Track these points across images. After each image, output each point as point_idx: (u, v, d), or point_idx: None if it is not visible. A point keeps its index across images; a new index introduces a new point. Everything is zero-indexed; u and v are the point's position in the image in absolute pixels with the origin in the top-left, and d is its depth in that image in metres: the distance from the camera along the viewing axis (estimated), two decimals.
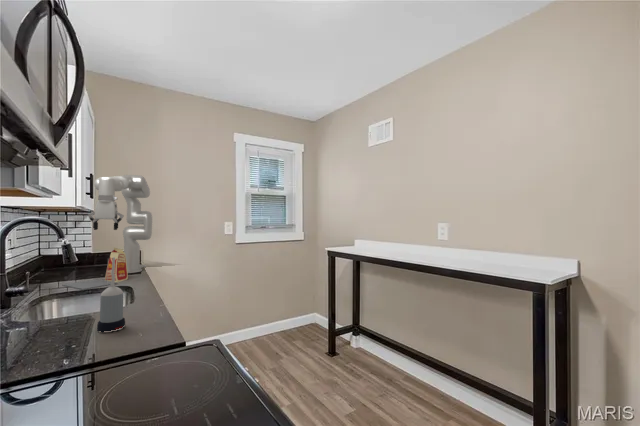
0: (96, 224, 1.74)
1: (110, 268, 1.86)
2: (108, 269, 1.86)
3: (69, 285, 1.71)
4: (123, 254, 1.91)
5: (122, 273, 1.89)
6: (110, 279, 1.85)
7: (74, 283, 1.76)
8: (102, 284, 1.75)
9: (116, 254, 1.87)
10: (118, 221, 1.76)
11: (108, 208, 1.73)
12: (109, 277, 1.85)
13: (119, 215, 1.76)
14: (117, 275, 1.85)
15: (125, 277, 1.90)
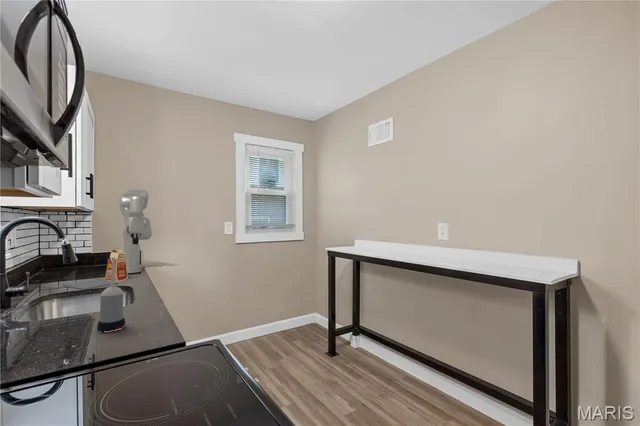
0: None
1: (110, 268, 1.86)
2: (108, 269, 1.86)
3: (69, 285, 1.71)
4: (123, 254, 1.91)
5: (122, 273, 1.89)
6: (110, 279, 1.85)
7: (74, 283, 1.76)
8: (102, 284, 1.75)
9: (116, 254, 1.87)
10: (139, 236, 2.01)
11: (141, 223, 2.00)
12: (109, 277, 1.85)
13: None
14: (117, 275, 1.85)
15: (125, 277, 1.90)
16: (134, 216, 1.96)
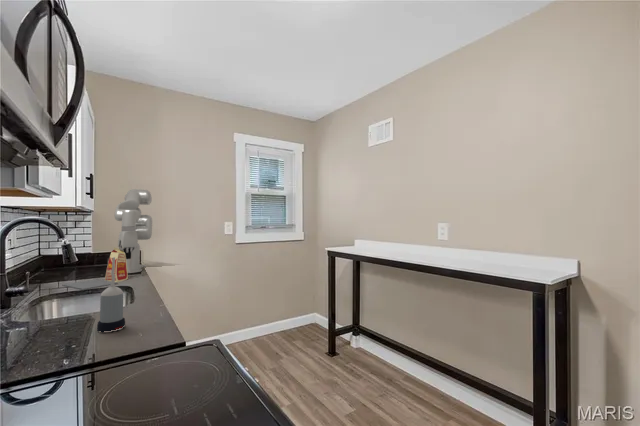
0: None
1: (110, 268, 1.86)
2: (108, 269, 1.86)
3: (69, 285, 1.71)
4: (123, 254, 1.91)
5: (122, 273, 1.89)
6: (110, 279, 1.85)
7: (74, 283, 1.76)
8: (102, 284, 1.75)
9: (116, 254, 1.87)
10: (132, 250, 1.97)
11: (133, 237, 1.96)
12: (109, 277, 1.85)
13: None
14: (117, 275, 1.85)
15: (125, 277, 1.90)
16: (126, 230, 1.92)
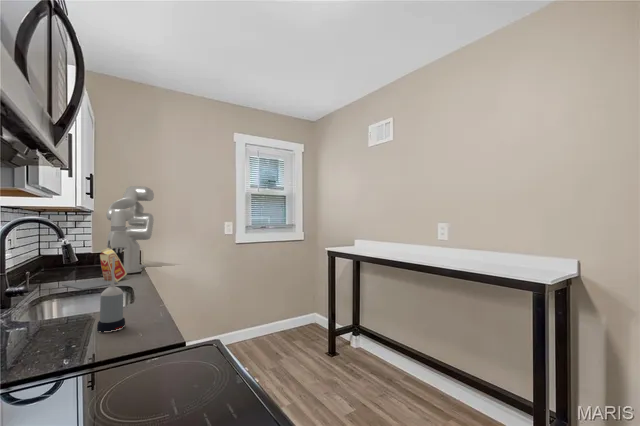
0: None
1: (105, 270, 1.83)
2: (103, 271, 1.83)
3: (69, 285, 1.71)
4: (113, 253, 1.84)
5: (119, 271, 1.87)
6: (109, 279, 1.85)
7: (74, 283, 1.76)
8: (102, 284, 1.75)
9: (106, 256, 1.80)
10: (121, 251, 1.91)
11: (123, 237, 1.90)
12: None
13: None
14: None
15: (123, 273, 1.89)
16: (116, 230, 1.86)
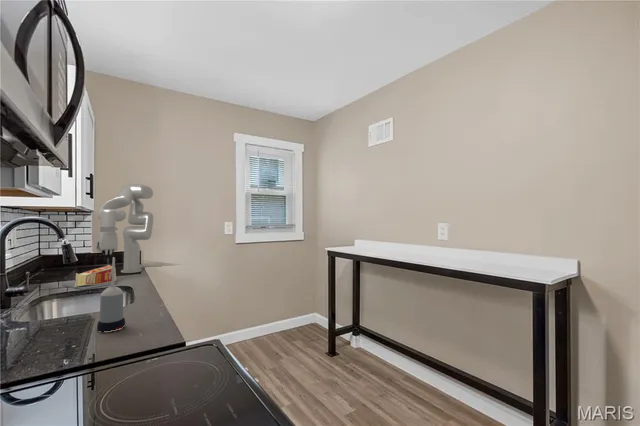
0: None
1: None
2: None
3: (69, 285, 1.71)
4: (86, 277, 1.69)
5: (108, 274, 1.79)
6: None
7: (74, 283, 1.76)
8: (102, 284, 1.75)
9: (84, 284, 1.69)
10: (111, 253, 1.86)
11: (113, 239, 1.85)
12: None
13: None
14: (109, 280, 1.80)
15: None
16: (105, 231, 1.81)
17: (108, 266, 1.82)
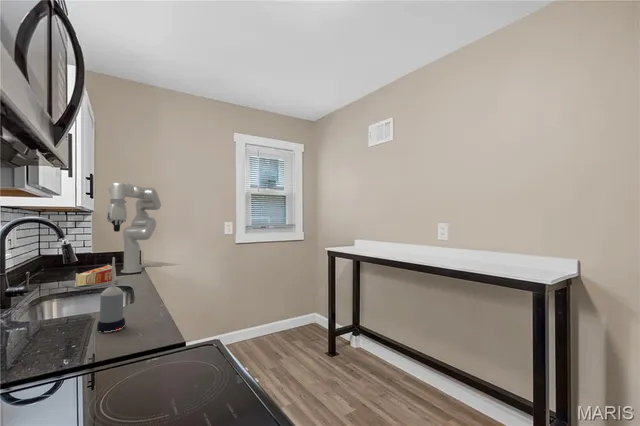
0: None
1: None
2: None
3: (69, 285, 1.71)
4: (86, 277, 1.69)
5: (108, 274, 1.79)
6: None
7: (74, 283, 1.76)
8: (102, 284, 1.75)
9: (84, 284, 1.69)
10: (121, 223, 1.99)
11: (122, 210, 1.98)
12: None
13: None
14: (109, 280, 1.80)
15: None
16: (115, 203, 1.94)
17: (108, 266, 1.82)
